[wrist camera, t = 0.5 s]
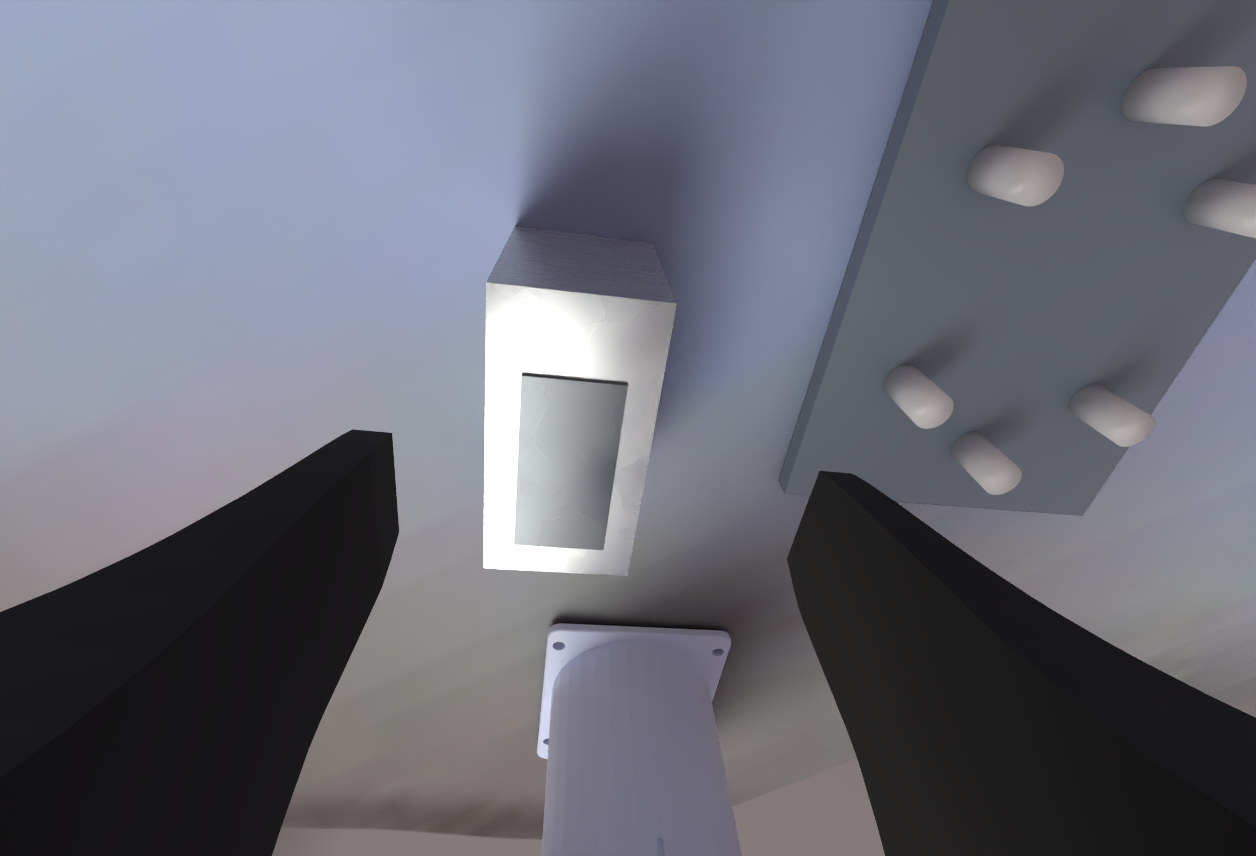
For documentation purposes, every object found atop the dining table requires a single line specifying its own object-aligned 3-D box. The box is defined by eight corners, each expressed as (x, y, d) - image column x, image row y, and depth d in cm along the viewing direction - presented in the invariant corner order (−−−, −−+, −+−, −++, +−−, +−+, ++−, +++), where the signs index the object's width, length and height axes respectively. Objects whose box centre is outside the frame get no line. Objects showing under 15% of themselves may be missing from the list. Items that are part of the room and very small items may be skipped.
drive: (618, 465, 21) (628, 578, 16) (507, 456, 21) (483, 570, 16) (652, 242, 17) (677, 304, 12) (515, 225, 17) (485, 283, 12)
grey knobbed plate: (1068, 502, 23) (1123, 551, 21) (778, 480, 22) (801, 530, 19) (1383, 15, 15) (1534, 3, 13) (956, -71, 14) (1034, -103, 11)
